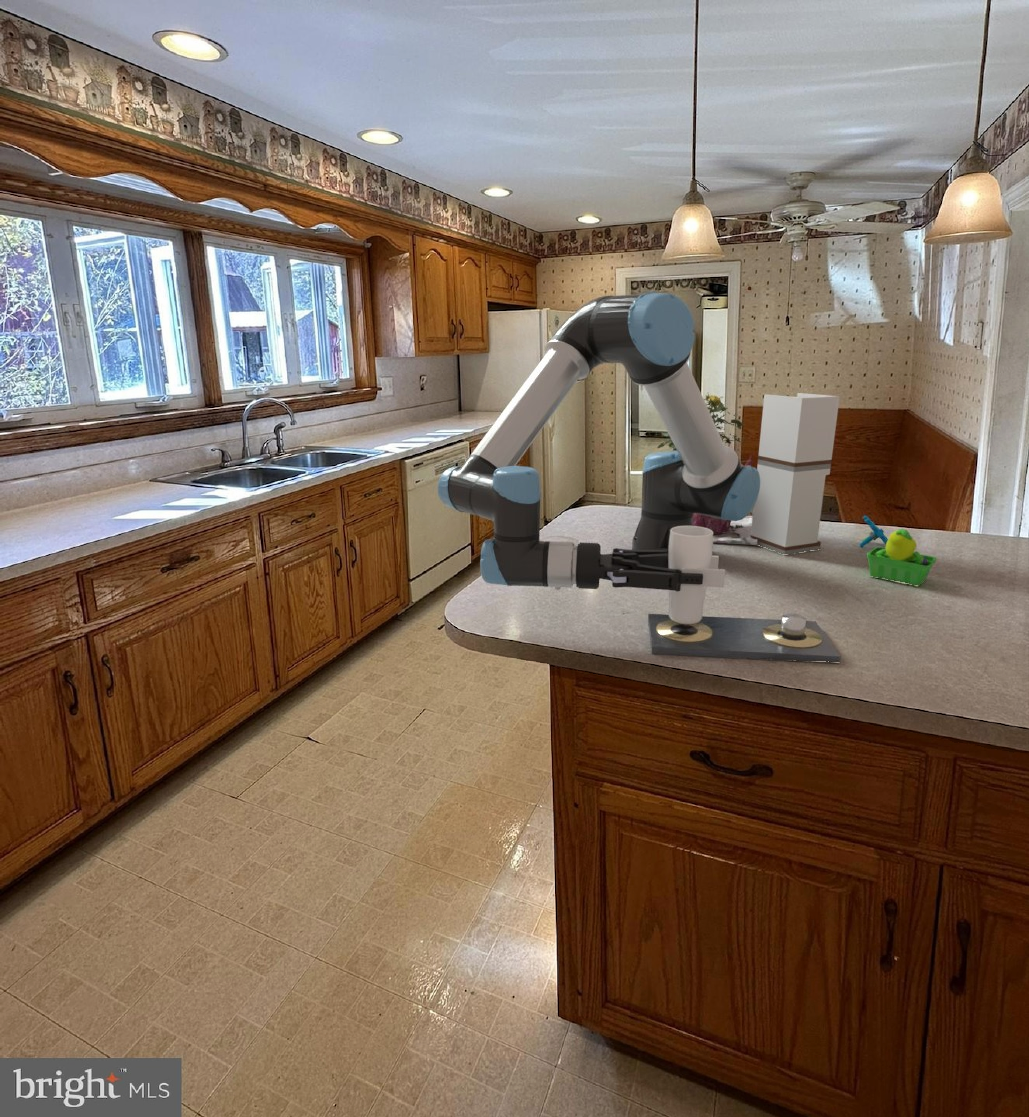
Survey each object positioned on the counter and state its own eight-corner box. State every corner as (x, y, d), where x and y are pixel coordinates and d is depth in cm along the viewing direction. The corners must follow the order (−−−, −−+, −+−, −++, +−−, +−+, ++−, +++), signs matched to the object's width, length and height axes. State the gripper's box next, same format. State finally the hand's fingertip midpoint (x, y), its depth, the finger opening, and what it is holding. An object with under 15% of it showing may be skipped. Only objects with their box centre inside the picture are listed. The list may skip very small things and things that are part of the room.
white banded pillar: (819, 550, 164) (839, 396, 154) (784, 555, 160) (802, 398, 150) (784, 538, 174) (800, 393, 164) (749, 543, 170) (764, 394, 160)
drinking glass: (708, 614, 117) (715, 527, 113) (704, 629, 111) (712, 537, 107) (666, 609, 120) (672, 523, 115) (661, 624, 113) (667, 534, 109)
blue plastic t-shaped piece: (898, 549, 159) (868, 515, 161) (875, 565, 161) (845, 531, 163) (896, 543, 169) (867, 511, 170) (874, 558, 171) (846, 526, 173)
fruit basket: (933, 581, 143) (943, 527, 140) (921, 592, 137) (931, 536, 134) (873, 569, 151) (881, 517, 147) (859, 579, 145) (867, 525, 141)
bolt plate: (814, 627, 120) (818, 603, 119) (839, 663, 107) (843, 636, 106) (647, 620, 124) (649, 596, 123) (651, 653, 111) (653, 627, 109)
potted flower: (754, 520, 190) (764, 386, 179) (757, 544, 167) (769, 393, 157) (653, 515, 197) (658, 386, 187) (643, 538, 174) (648, 393, 164)
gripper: (578, 568, 126) (711, 574, 123) (571, 608, 107) (728, 615, 104) (579, 528, 123) (714, 532, 120) (572, 560, 105) (732, 567, 102)
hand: (720, 571), depth 112 cm, fingers closed on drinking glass, 6 cm apart
